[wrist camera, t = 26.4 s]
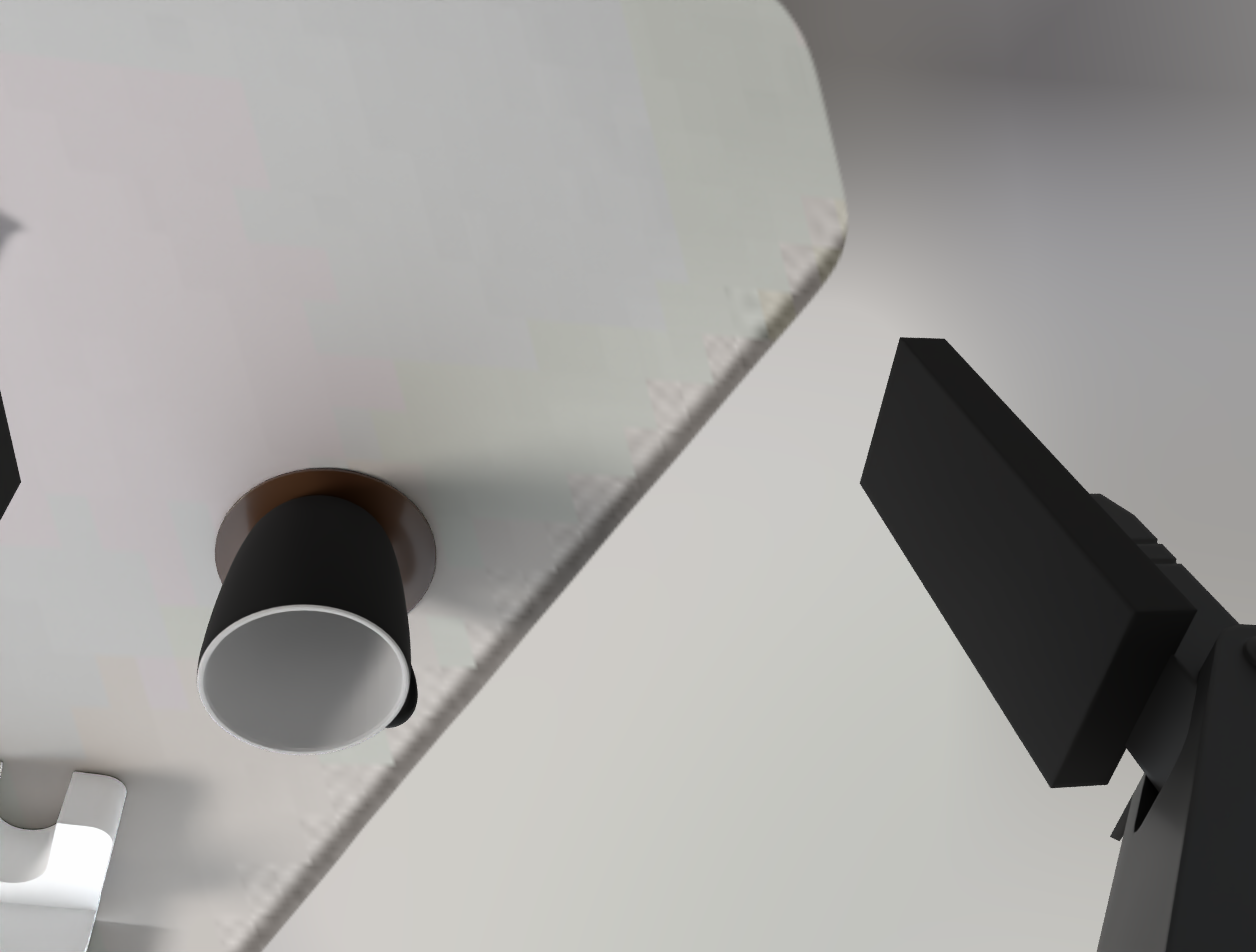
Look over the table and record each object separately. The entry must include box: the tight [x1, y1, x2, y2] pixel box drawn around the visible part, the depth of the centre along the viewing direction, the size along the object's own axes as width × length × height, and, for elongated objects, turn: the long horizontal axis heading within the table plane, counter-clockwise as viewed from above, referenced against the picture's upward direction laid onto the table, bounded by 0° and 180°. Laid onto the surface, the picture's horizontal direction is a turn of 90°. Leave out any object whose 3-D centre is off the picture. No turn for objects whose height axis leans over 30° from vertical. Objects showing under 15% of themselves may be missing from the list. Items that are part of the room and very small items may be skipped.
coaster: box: [215, 468, 436, 613], centre depth 55 cm, size 11×11×1 cm
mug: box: [197, 495, 418, 755], centre depth 51 cm, size 12×9×10 cm
